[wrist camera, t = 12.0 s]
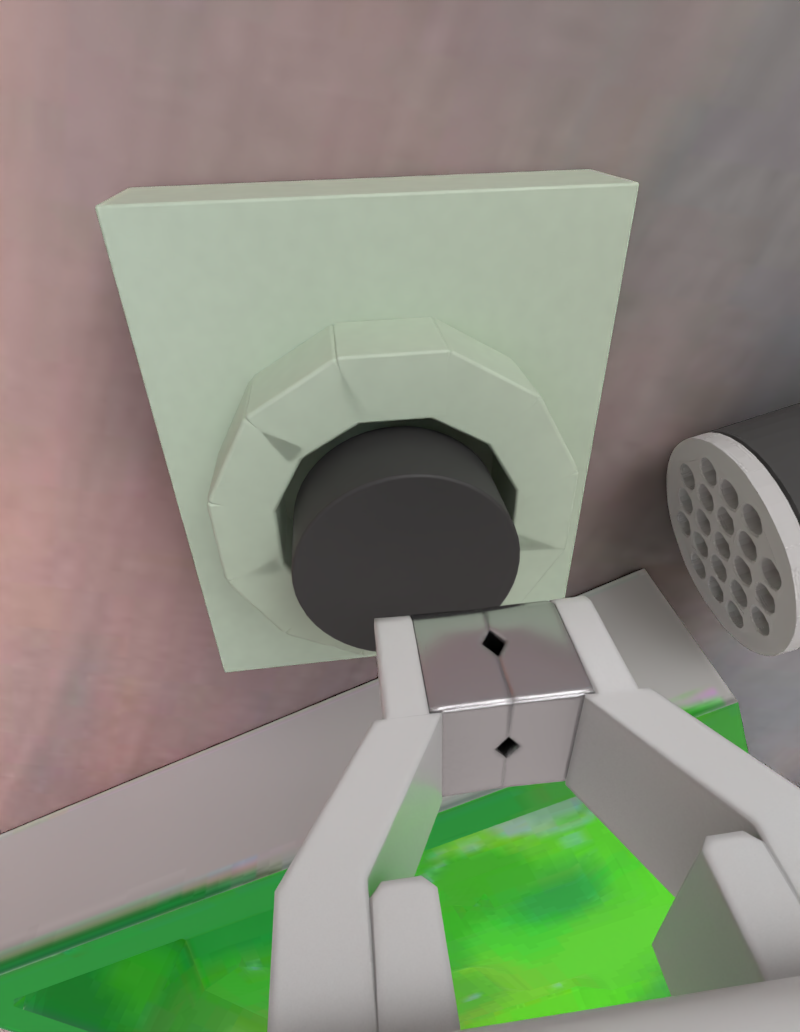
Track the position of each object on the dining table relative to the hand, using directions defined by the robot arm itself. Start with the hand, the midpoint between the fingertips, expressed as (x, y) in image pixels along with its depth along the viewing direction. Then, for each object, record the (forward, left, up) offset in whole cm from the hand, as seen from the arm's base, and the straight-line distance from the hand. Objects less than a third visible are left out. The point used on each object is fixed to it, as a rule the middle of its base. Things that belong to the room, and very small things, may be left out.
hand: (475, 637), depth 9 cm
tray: (+22, +1, -8) cm, 23 cm away
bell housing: (0, -1, -7) cm, 7 cm away
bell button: (0, -1, -4) cm, 4 cm away
